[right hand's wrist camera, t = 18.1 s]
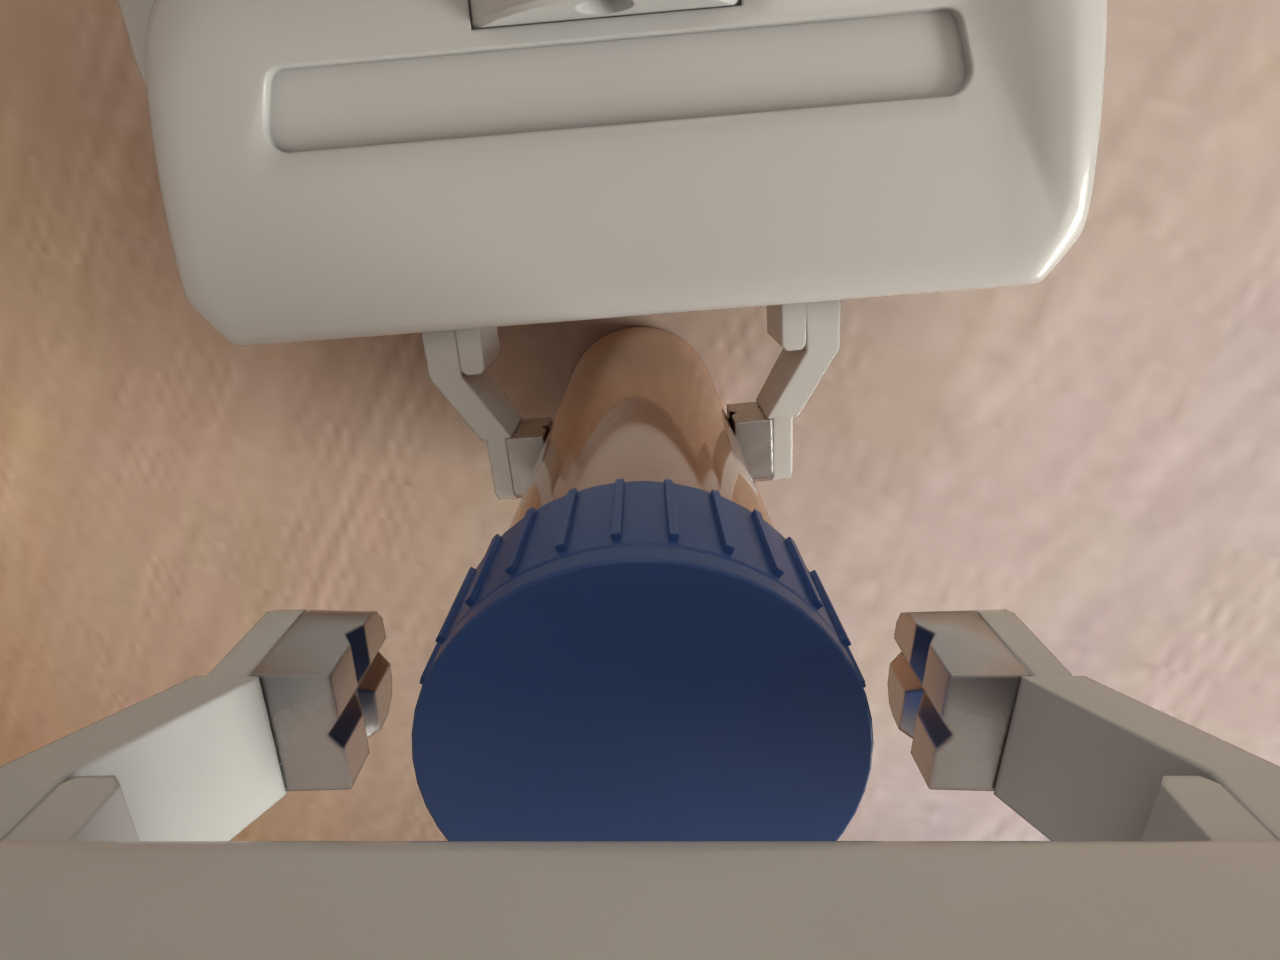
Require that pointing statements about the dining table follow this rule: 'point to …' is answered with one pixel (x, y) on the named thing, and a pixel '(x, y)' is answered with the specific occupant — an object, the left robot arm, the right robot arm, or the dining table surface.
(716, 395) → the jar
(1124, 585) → the dining table surface
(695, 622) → the lid
